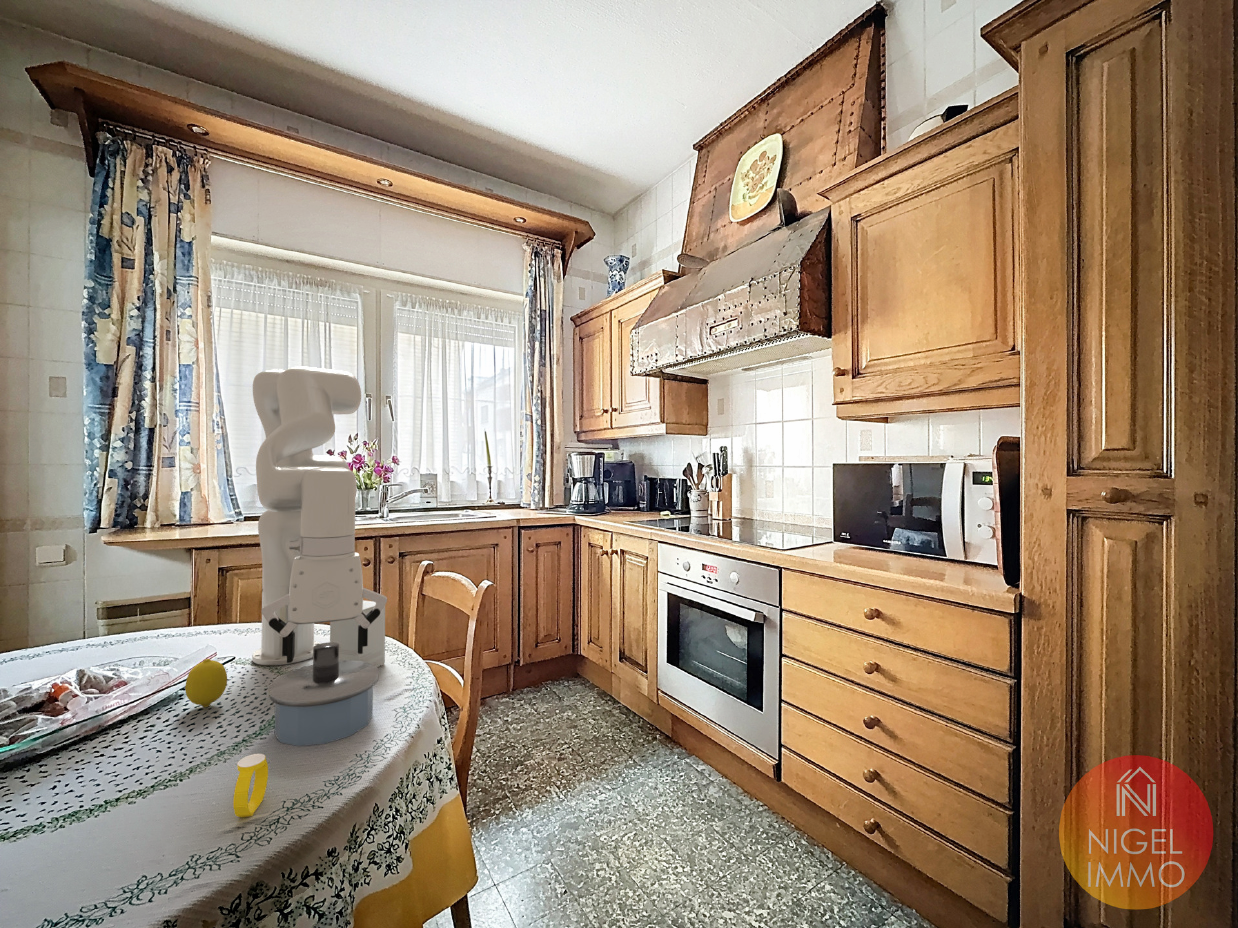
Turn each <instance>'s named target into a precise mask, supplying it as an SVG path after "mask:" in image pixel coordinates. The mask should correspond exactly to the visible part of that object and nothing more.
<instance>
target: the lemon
mask: <svg viewBox="0 0 1238 928" xmlns="http://www.w3.org/2000/svg"><path fill="white" fill-rule="evenodd" d="M227 684H228V675H227V670H226V668H225V666H224V665H223V664H222V663H221V662H219V661H217V660H212V659H211V658H205V659H204V660H203V661H201V662H199V663H198V664H196V665H194V666H193V667H192V668H191V670H190V671H189V672H188V674H187V677H186V680H185V684H184V685H185V695H186V698H187V699H188V700H189V702H191V703H192V704H194V705H200V706H201V707H203V708H208V707H210V706H211V704H212V703H214V702H216V701H217V700H218V699H220V698H221V696H223V694H224V692H225V690H226V689H227Z"/></svg>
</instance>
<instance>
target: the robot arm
mask: <svg viewBox="0 0 1238 928" xmlns="http://www.w3.org/2000/svg"><path fill="white" fill-rule="evenodd" d="M252 396H253V398H252V399H253V403H254V406H255V410H256V413H257V415H258V418H259V420H260V422H261V425H262V427H263V430H264V435H265V439H264V440H263V442H262V444H261V445H260V447H259V449H258V452H257V454H256V460H255V474H256V476H255V477H256V489H257V496H258V499H259V502H260V504H261V506H262V507H263V508H264V509H265V511H264V512H263V513H262V514H261V515H260V516H259V519H258V522H257V529H258V530H257V531H258V538H259V545H260V551H261V565H262V566H261V567H262V573H261V574H262V577H261V579H262V584H261V585H262V586H261V587H262V589H261V610H260V612H261V648H259V649H257V650H255V651H254V653H252V655H251V656H252V657H251V661H252V662H253V663H255V664H256V665H260V666H282V665H290V664H295V663H300V662H303V661H306V660H309V659H311V658H312V659H313V647H314V646H316V645H318V644H322V643H320V642H319V641H317V640H316V641H315V624H321V623H323V624H324V623H330V622H333V621H343V620H351V619H355V620H356V621H357V622H358V623H359V624H360V625H359V626H358V653H359V654H363V647H365V646H368V627H369V626H370V624H371V623H372V622H373V621H374V620H375V619H376V618H377V617H378V616H379V615H380V613H381V611H382V609H383V608H384V606H385V607H386V604H387V602H388V598H387V596H386V595H384V594H381V593H378V592H376V591H373V590H370V589H368V588H365V587H364V580H363V579H364V577H363V565H362V562H361V557H360V553H358V552H356V550H355V548H356V547H355V544H356V543H355V538H356V496H357V488H358V487H357V479H356V475H355V473H354V472H353V471H352V470H351V469H350V467H349V464H348V463H347V462H346V460H345V459H343V458H342V457H339V456H334V455H314V453H313V449H316V448H319V447H321V446H323V445H324V444H327V443H328V442H329V441H330V440H331V439H332V438H333V437H334V435H335V432H336V424H335V419H334V415H351V414H354V413H356V411H358V409H359V407H360V405H361V401H362V388H361V385H360V383H359V380H358V379H357V378H356V376H355V375H353V374H352V373H350V372H349V371H343V370H334V369H328V368H327V369H326V368H317V367H311V366H310V367H309V366H295V367H294V366H293V367H289V368H286V369H285V370H283V369H279V370H278V369H271V370H269V369H268V370H264V371H261V372H258V373H257V374H256V375H255V376H254V378H253V382H252ZM364 599H366V600H367V601H373V602H375V603H376V604H375V606H374V608H373V609H372V610H371V611H370V612H369V613H368V614H367V615H366V614H365V613H364V612H363V611H362V609H363V600H364Z"/></svg>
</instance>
